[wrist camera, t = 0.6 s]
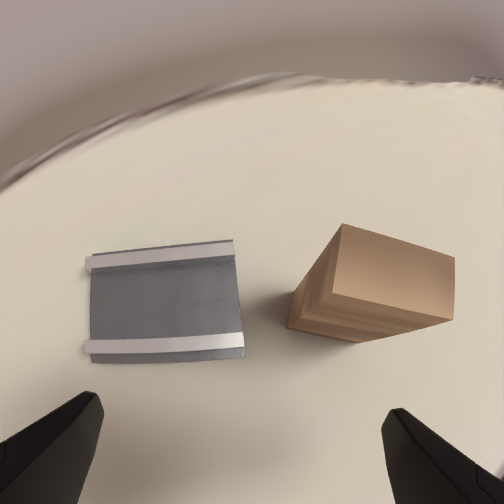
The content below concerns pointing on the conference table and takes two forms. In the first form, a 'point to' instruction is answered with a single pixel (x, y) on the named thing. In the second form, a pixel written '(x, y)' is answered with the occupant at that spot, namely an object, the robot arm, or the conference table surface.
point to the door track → (165, 304)
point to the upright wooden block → (373, 288)
